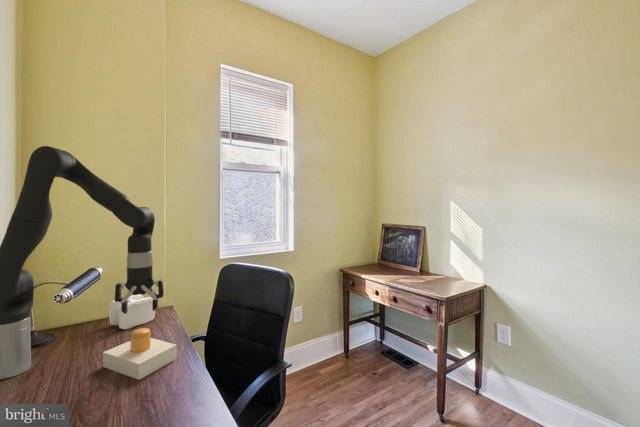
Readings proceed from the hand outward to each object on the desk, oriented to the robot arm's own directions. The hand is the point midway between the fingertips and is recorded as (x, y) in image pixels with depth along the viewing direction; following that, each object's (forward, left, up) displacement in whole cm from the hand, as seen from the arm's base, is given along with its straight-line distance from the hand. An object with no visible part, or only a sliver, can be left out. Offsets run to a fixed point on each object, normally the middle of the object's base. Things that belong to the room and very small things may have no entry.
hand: (140, 311), depth 102 cm
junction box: (0, 0, -18) cm, 18 cm away
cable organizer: (+21, +35, -18) cm, 45 cm away
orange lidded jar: (0, 0, -13) cm, 13 cm away
